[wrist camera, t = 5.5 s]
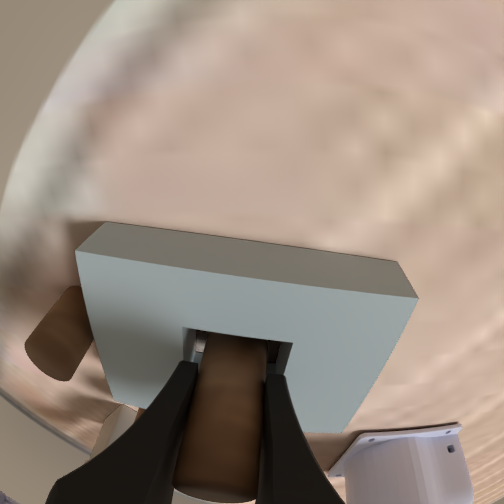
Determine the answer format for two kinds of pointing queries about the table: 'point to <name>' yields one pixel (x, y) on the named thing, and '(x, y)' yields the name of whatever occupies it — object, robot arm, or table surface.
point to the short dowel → (61, 336)
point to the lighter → (113, 428)
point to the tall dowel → (224, 422)
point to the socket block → (242, 313)
